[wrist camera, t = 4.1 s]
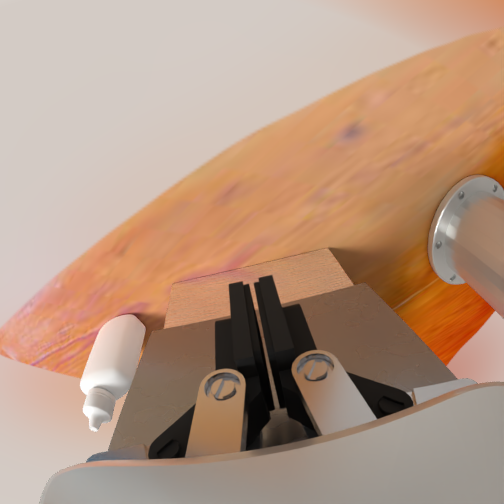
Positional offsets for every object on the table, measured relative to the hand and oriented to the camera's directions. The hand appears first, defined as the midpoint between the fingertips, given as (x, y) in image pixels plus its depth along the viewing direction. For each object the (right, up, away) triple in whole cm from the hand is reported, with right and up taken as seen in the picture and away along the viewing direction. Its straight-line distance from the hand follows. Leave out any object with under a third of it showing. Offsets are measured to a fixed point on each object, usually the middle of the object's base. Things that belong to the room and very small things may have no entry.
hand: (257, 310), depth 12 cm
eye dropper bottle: (-13, -5, +17) cm, 22 cm away
